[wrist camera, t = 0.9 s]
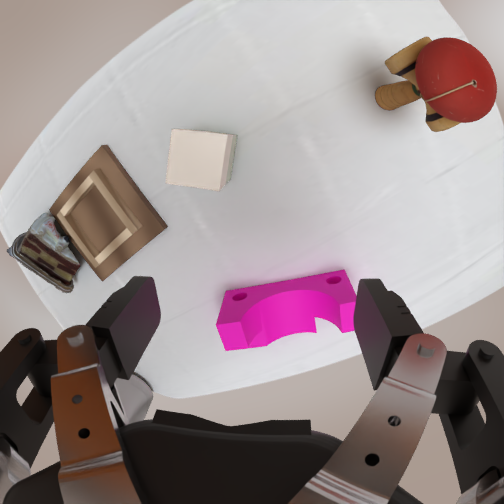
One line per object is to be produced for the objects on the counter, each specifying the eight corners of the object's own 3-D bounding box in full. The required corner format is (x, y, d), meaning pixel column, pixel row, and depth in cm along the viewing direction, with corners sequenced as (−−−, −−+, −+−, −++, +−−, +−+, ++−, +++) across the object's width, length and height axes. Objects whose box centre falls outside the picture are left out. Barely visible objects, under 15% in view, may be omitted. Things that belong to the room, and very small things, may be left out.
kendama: (346, 70, 26) (419, 12, 9) (395, 61, 25) (490, 17, 8) (369, 135, 28) (464, 142, 12) (416, 124, 27) (526, 130, 11)
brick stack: (230, 179, 32) (219, 191, 25) (187, 173, 32) (165, 183, 25) (237, 135, 30) (227, 135, 23) (192, 129, 30) (171, 128, 23)
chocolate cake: (97, 269, 35) (19, 239, 25) (74, 296, 37) (3, 273, 27) (93, 221, 40) (29, 189, 30) (71, 248, 42) (11, 222, 32)
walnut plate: (106, 277, 38) (97, 286, 35) (54, 207, 34) (42, 212, 32) (167, 226, 34) (159, 233, 32) (106, 144, 31) (95, 146, 28)
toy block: (238, 328, 39) (231, 366, 33) (226, 290, 37) (215, 324, 30) (347, 310, 37) (360, 346, 30) (344, 268, 35) (358, 300, 28)
